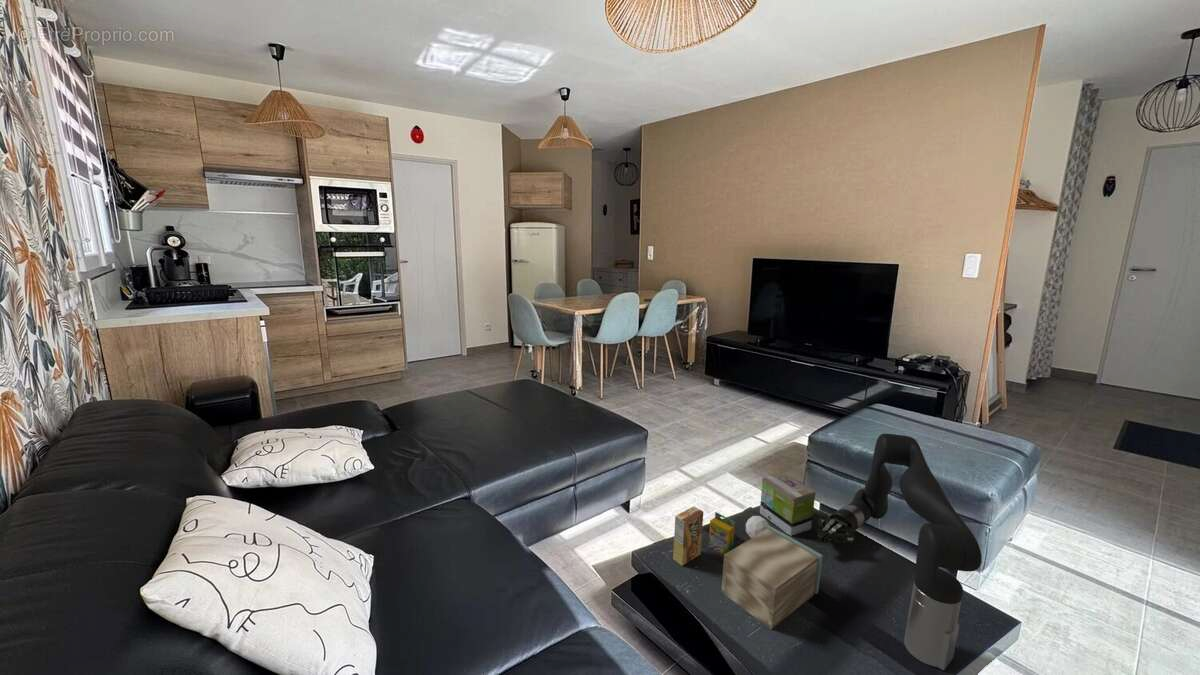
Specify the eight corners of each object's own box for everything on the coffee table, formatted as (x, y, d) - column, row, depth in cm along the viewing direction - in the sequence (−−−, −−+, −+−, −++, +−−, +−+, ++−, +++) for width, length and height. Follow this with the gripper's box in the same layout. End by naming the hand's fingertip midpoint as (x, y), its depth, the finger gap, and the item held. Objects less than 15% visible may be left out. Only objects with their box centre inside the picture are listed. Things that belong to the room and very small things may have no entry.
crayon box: (707, 547, 152) (709, 515, 149) (713, 543, 154) (715, 511, 151) (727, 558, 147) (730, 525, 144) (732, 554, 149) (735, 521, 146)
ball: (761, 543, 158) (777, 527, 157) (756, 548, 151) (773, 531, 150) (743, 525, 162) (759, 509, 160) (738, 529, 155) (754, 512, 154)
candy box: (691, 548, 151) (693, 505, 148) (701, 554, 148) (704, 511, 145) (672, 559, 146) (674, 515, 143) (682, 566, 143) (685, 521, 139)
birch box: (813, 595, 132) (818, 557, 129) (771, 629, 120) (775, 588, 118) (764, 563, 144) (767, 528, 142) (721, 592, 133) (724, 554, 130)
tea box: (758, 513, 170) (761, 476, 167) (779, 507, 175) (782, 471, 172) (790, 537, 157) (794, 497, 154) (812, 530, 161) (816, 490, 158)
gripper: (828, 500, 161) (800, 518, 151) (869, 519, 151) (842, 539, 140) (826, 520, 163) (798, 539, 152) (866, 540, 152) (839, 561, 142)
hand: (819, 539), depth 146 cm, fingers closed
